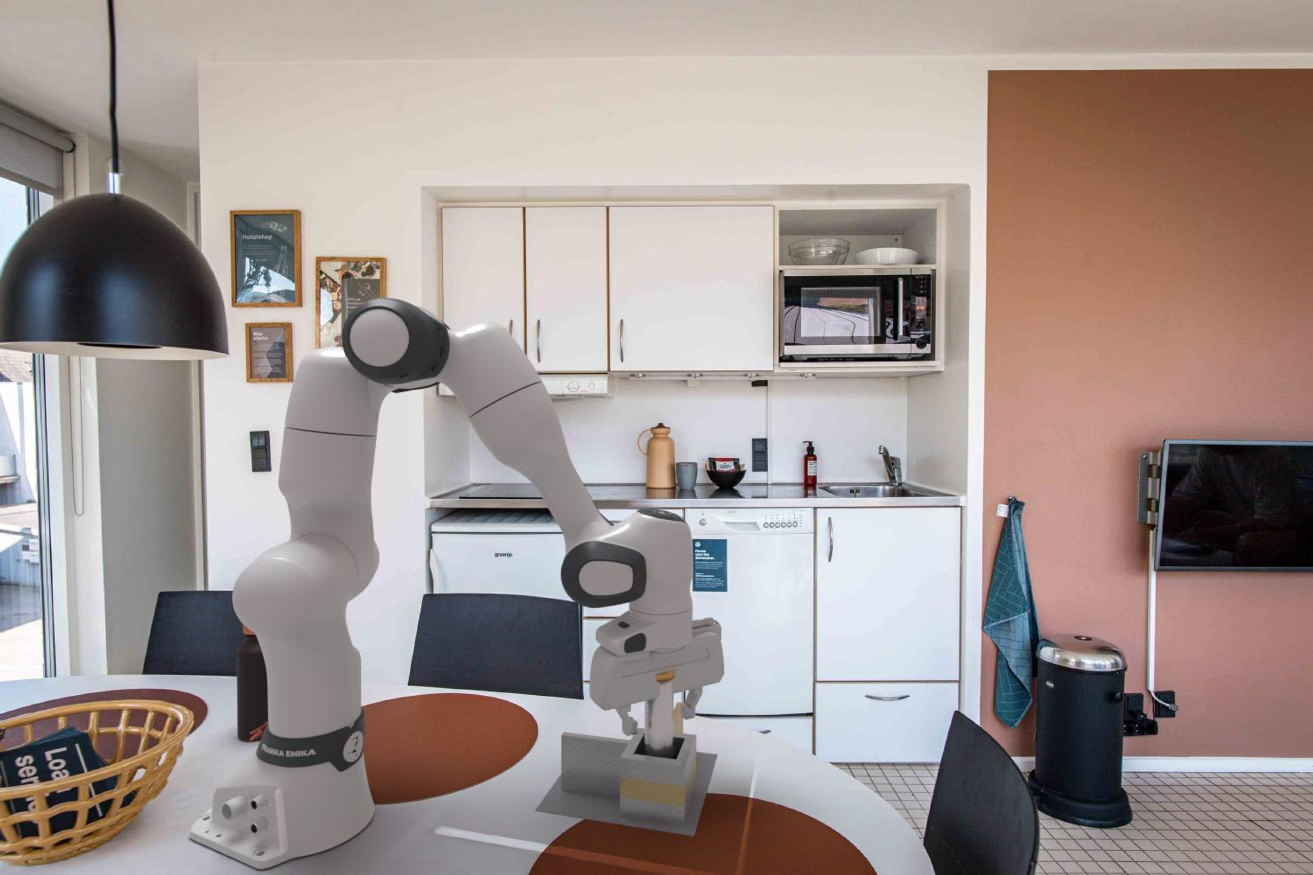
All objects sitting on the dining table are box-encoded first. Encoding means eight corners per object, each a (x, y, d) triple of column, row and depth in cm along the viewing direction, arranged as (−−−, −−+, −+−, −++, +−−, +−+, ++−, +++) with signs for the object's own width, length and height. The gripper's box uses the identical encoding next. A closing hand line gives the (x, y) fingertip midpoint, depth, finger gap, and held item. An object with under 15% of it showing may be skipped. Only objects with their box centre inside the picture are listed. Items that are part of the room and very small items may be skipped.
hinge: (550, 805, 90) (550, 748, 89) (594, 740, 108) (595, 692, 108) (684, 826, 85) (684, 766, 85) (706, 754, 103) (707, 705, 103)
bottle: (246, 725, 115) (245, 613, 114) (288, 721, 116) (287, 610, 116) (230, 744, 108) (229, 624, 108) (275, 739, 110) (274, 622, 109)
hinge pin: (638, 809, 89) (638, 672, 88) (647, 790, 93) (647, 660, 93) (671, 814, 88) (671, 675, 87) (678, 795, 92) (678, 663, 92)
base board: (534, 819, 88) (534, 810, 88) (587, 744, 109) (587, 737, 109) (694, 844, 83) (694, 835, 83) (717, 761, 104) (717, 754, 104)
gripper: (708, 609, 98) (707, 700, 98) (584, 631, 87) (583, 733, 88) (734, 621, 93) (732, 716, 93) (606, 645, 82) (605, 753, 82)
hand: (659, 725), depth 90 cm, fingers open, 8 cm apart
